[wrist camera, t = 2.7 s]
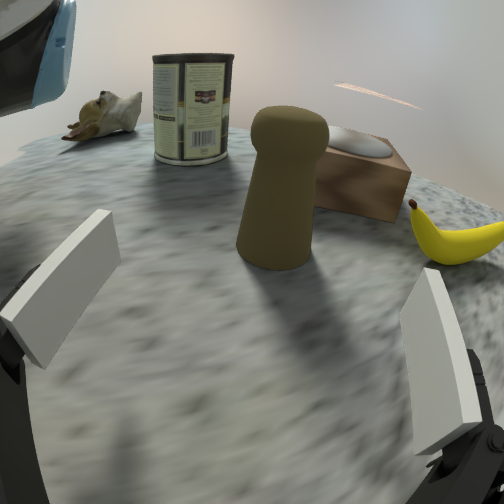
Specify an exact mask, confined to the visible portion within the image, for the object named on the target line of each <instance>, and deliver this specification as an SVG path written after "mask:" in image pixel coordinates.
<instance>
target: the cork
mask: <svg viewBox="0 0 504 504" xmlns="http://www.w3.org/2000/svg"><path fill="white" fill-rule="evenodd" d="M329 138H330V134H329V128H328V125H327V123H326V121H325V119H324V118H323V117H321V116H320V115H318V114H316V113H314V112H311V111H309V110H306V109H303V108H298V107H293V106H272V107H266V108H264V109H261V110H260V111H259V112H258V113H257V114H256V116H255V117H254V120H253V123H252V126H251V141H252V144H253V146H254V148H255V149H256V151H257V156H256V160H255V164H254V169H253V173H252V177H251V181H250V185H249V190H248V194H247V198H246V202H245V207H244V211H243V215H242V220H241V224H240V228H239V233H238V237H237V242H236V247H237V250H238V252H239V254H240V255H241V256H242V257H243V258H244V259H245V260H247V261H248V262H250V263H251V264H253V265H255V266H258V267H261V268H264V269H269V270H278V271H280V270H290V269H293V268H296V267H299V266H301V265H302V264H304V263H305V262H306V261H307V260H308V258H309V256H310V252H311V241H312V228H313V215H314V200H315V183H316V163H317V161H318V160H319V159H320V158H321V157H322V156H323V154H324V153H325V151H326V149H327V147H328V143H329Z"/></svg>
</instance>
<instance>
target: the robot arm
mask: <svg viewBox="0 0 504 504" xmlns="http://www.w3.org/2000/svg"><path fill="white" fill-rule="evenodd" d="M75 20H76V1H75V0H0V117H3V116H6V115H9V114H12V113H16V112H20V111H23V110H27V109H33V108H35V107H36V106H38V105H41V104H44V103H47V102H50V101H54V100H55V99H57V98H58V97H60V96H61V95H62V94H63V92H64V91H65V89H66V87H67V83H68V78H69V72H70V65H71V57H72V48H73V39H74V30H75ZM120 262H121V257H120V252H119V247H118V242H117V238H116V233H115V227H114V222H113V217H112V211H107V210H101V209H98V210H97V211H95V212H94V213H93V214H92V215H91V216H90V217H89V218H88V219H87V220H86V221H85V222H83V223H82V224H81V225H80V226H79V227H78V228H77V229H76V230H75V231H74V232H73V233H72V234H71V235H70V236H69V237H68V238H67V239H66V240H65V241H64V242H63V243H62V244H61V245H60V246H59V247H58V248H57V249H56V250H55V251H54V252H53V253H52V254H51V255H50V256H49V257H48V258H47V259H46V260H45V261H44V262H43V263H42V264H39V265H38V266H36V267H35V268H33V269H32V270H30V271H29V272H28V273H27V274H26V275H25V276H24V277H23V279H22V281H20V282H19V283H18V284H17V285H16V286H15V287H16V288H14V289H13V290H12V291H11V292H10V293H9V295H8V296H7V297H6V298H5V299H4V301H3V302H2V303H1V304H0V504H50V503H49V500H48V497H47V493H46V490H45V486H44V483H43V479H42V475H41V472H40V467H39V463H38V459H37V454H36V450H35V445H34V439H33V434H32V428H31V422H30V415H29V407H28V398H27V388H26V375H25V363H24V360H23V359H22V358H23V356H24V355H25V354H26V356H27V357H28V358H29V360H30V361H31V362H32V363H33V364H35V365H37V366H38V367H40V368H42V369H44V370H46V368H47V366H48V365H49V363H50V361H51V360H52V358H53V357H54V355H55V354H56V352H57V350H58V349H59V347H60V346H61V344H62V343H63V341H64V340H65V338H66V337H67V335H68V334H69V332H70V331H71V329H72V328H73V326H74V325H75V323H76V322H77V321H78V319H79V318H80V316H81V315H82V313H83V312H84V311H85V309H86V308H87V306H88V305H89V304H90V302H91V301H92V299H93V298H94V297H95V295H96V294H97V293H98V291H99V290H100V288H101V287H102V286H103V284H104V283H105V282H106V280H107V279H108V278H109V276H110V275H111V274H112V273H113V271H114V270H115V269H116V267H117V266H118V265H119V264H120ZM399 318H400V324H401V329H402V335H403V341H404V348H405V354H406V361H407V369H408V377H409V385H410V395H411V406H412V418H413V435H414V456H418V455H432V454H434V453H436V452H437V451H439V450H441V449H442V453H443V455H442V456H440V457H439V458H437V459H435V460H433V461H431V462H430V463H429V464H428V465H427V466H426V467H427V468H429V467H431V466H432V465H434V466H433V467H432V469H431V470H430V472H429V473H428V475H427V476H426V477H425V479H424V480H423V482H422V483H421V484H420V486H419V487H418V488H417V490H416V491H415V492H414V494H413V495H412V496H411V497H410V499H409V500H408V501H407V502H406V504H504V490H503V491H502V492H500V488H501V485H502V484H504V430H503V429H502V428H501V427H500V426H498V425H495V424H494V421H493V416H492V410H491V405H490V401H489V396H488V391H487V387H486V386H485V379H484V376H483V371H482V367H481V364H480V361H479V359H478V357H477V356H476V354H475V352H474V351H473V349H466V347H465V343H464V340H463V337H462V333H461V330H460V327H459V324H458V321H457V318H456V315H455V312H454V309H453V306H452V303H451V301H450V298H449V295H448V292H447V290H446V287H445V284H444V282H443V279H442V277H441V274H440V272H439V270H434V269H429V268H423V270H422V272H421V274H420V276H419V278H418V280H417V282H416V284H415V286H414V288H413V289H412V291H411V293H410V295H409V297H408V299H407V301H406V302H405V304H404V306H403V308H402V310H401V311H400V313H399Z"/></svg>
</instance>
